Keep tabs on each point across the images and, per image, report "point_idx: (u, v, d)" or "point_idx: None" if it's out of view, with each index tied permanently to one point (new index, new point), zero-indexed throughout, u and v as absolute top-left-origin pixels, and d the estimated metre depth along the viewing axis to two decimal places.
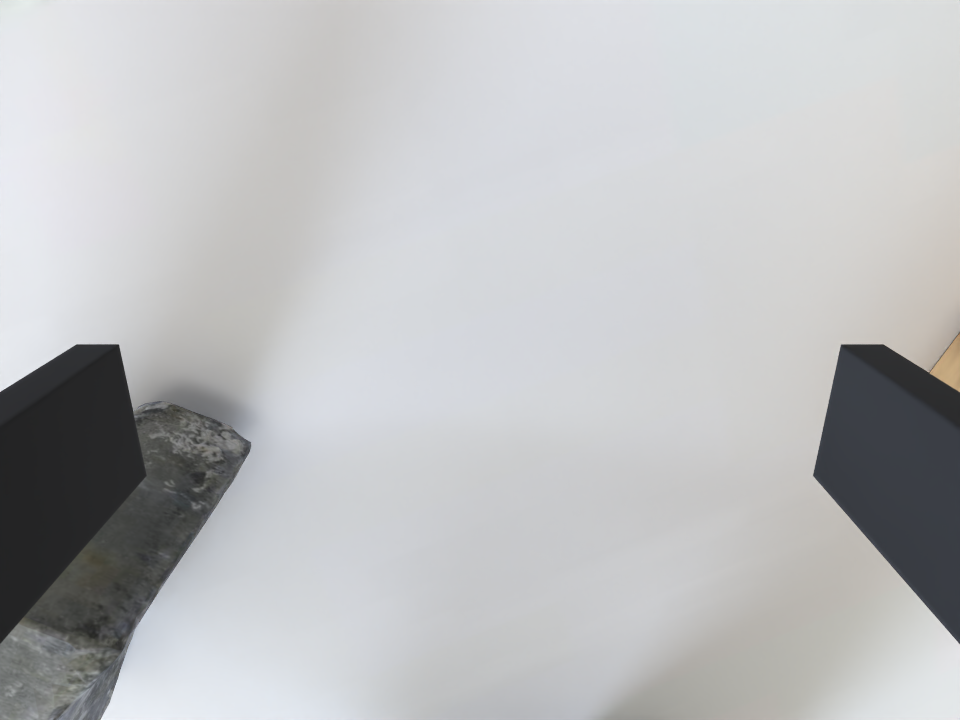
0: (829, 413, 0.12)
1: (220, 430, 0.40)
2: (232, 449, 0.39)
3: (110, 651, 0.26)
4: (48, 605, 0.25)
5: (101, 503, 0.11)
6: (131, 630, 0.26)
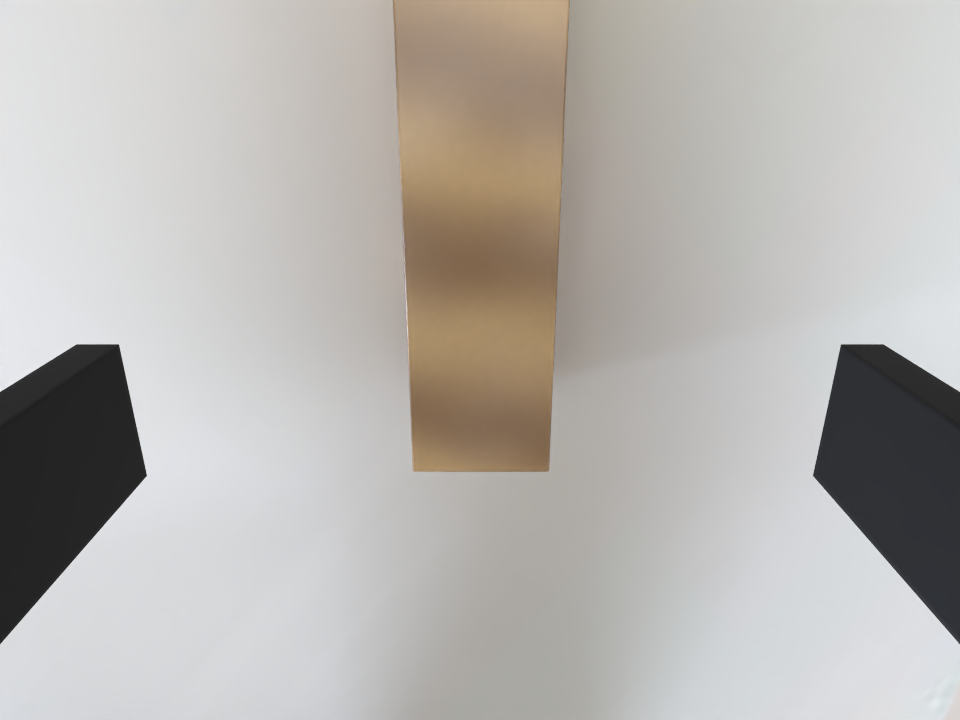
0: (828, 413, 0.12)
1: None
2: None
3: None
4: None
5: (101, 503, 0.11)
6: None
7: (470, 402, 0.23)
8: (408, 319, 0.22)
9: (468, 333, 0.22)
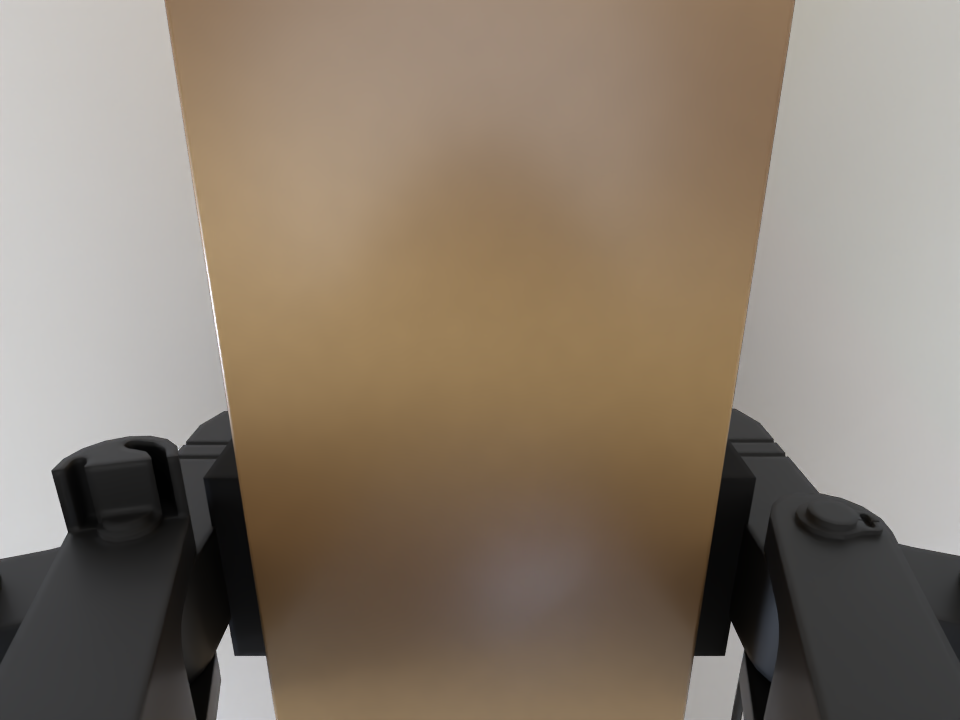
0: None
1: None
2: None
3: None
4: None
5: None
6: None
7: None
8: (279, 719, 0.08)
9: None
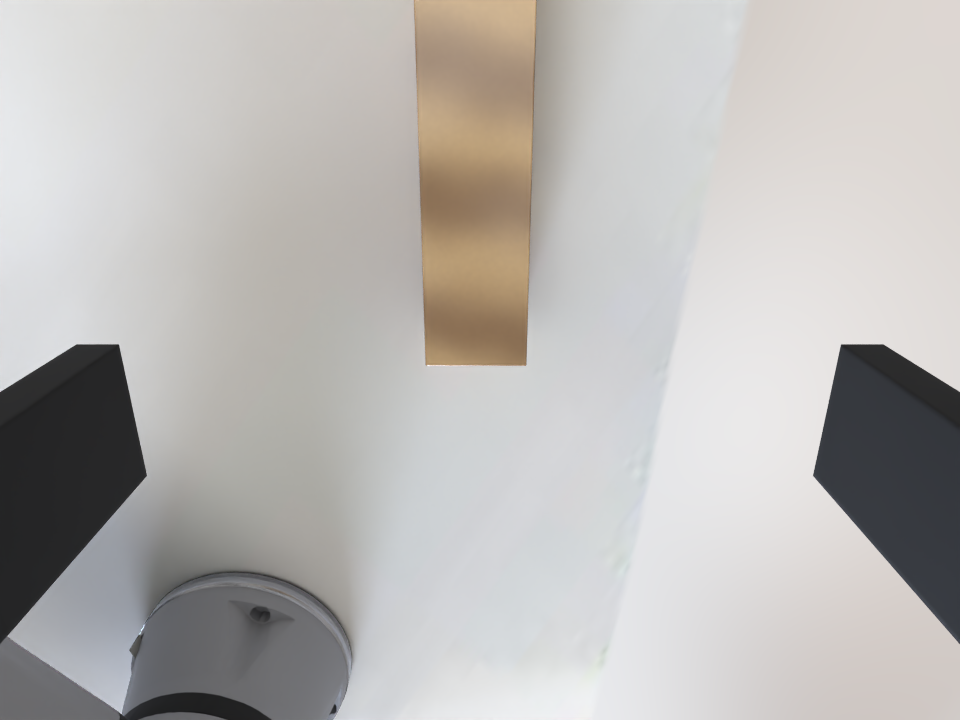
0: (829, 413, 0.12)
1: None
2: None
3: None
4: None
5: (101, 503, 0.11)
6: None
7: (467, 311, 0.32)
8: (423, 248, 0.31)
9: (466, 259, 0.31)
